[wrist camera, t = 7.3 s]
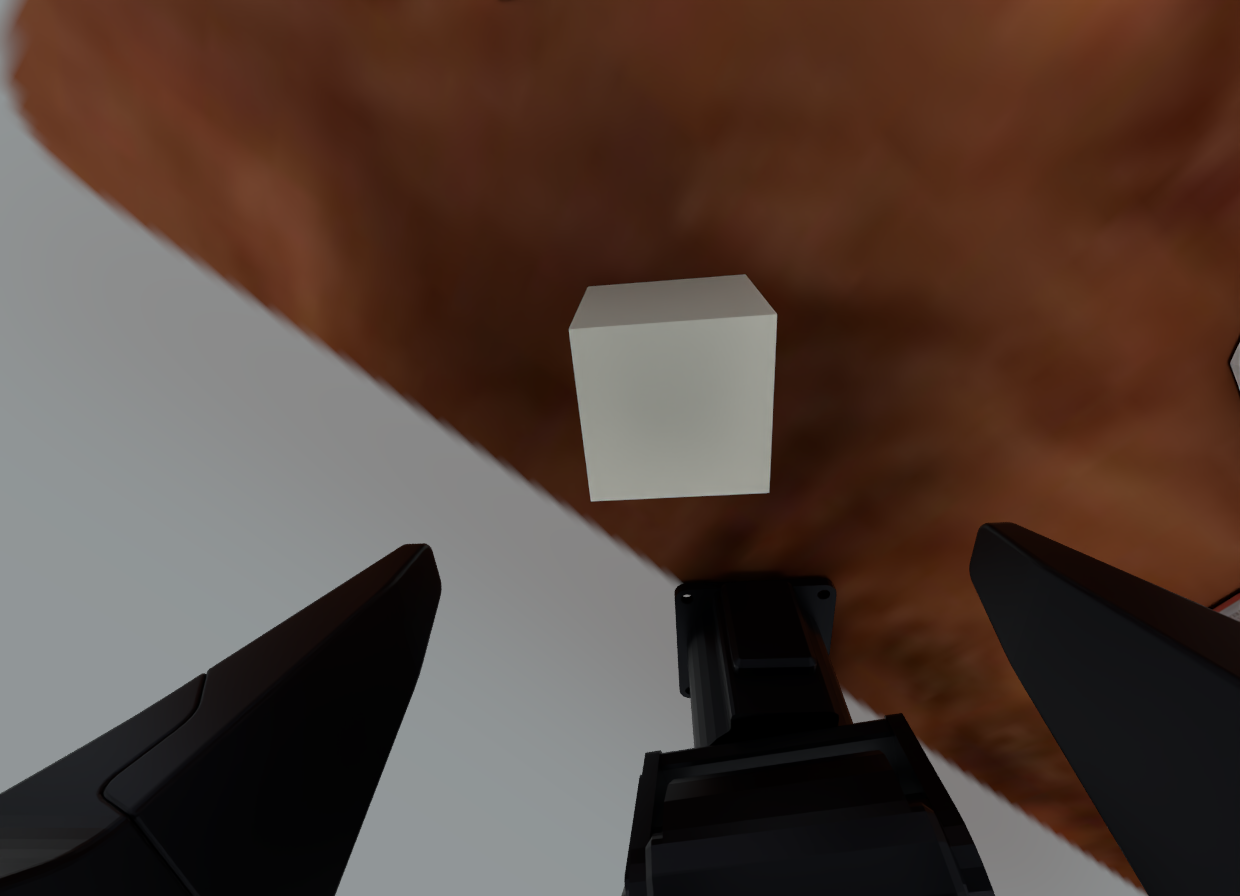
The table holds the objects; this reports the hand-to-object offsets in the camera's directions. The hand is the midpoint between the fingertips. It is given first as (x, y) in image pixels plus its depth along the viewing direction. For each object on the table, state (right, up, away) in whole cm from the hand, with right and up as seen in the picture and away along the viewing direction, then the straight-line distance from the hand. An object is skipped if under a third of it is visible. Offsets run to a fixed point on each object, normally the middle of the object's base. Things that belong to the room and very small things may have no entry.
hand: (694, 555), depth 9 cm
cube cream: (0, +5, +10) cm, 11 cm away
